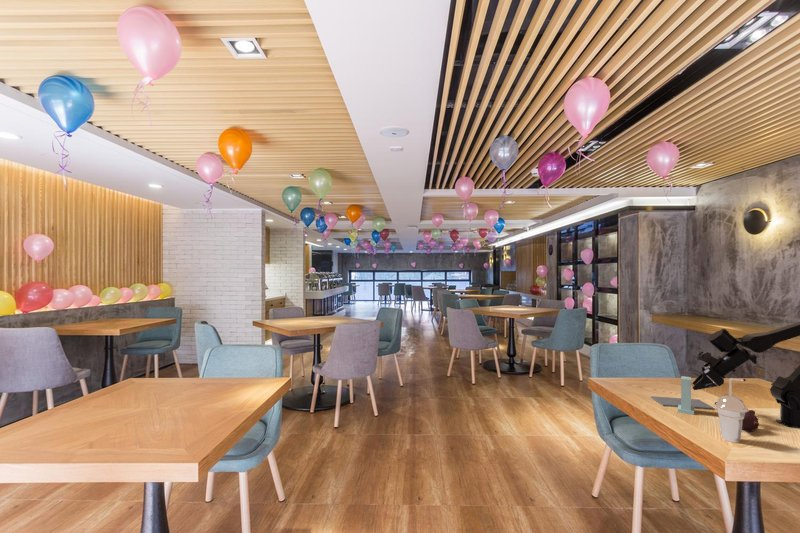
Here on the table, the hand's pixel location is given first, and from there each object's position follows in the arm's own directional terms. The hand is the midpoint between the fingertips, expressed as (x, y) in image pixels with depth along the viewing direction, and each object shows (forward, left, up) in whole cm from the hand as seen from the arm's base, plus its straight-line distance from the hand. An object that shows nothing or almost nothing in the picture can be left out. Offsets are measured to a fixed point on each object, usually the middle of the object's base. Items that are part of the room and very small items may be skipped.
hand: (693, 386), depth 159 cm
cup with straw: (-28, +2, -10) cm, 30 cm away
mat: (+12, -1, -10) cm, 15 cm away
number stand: (+1, +2, -10) cm, 10 cm away
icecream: (-17, -8, -10) cm, 21 cm away
